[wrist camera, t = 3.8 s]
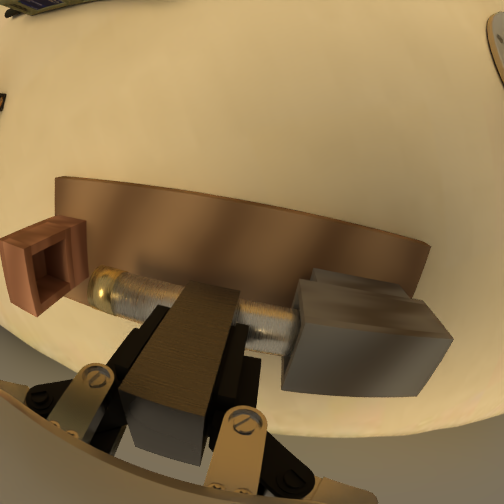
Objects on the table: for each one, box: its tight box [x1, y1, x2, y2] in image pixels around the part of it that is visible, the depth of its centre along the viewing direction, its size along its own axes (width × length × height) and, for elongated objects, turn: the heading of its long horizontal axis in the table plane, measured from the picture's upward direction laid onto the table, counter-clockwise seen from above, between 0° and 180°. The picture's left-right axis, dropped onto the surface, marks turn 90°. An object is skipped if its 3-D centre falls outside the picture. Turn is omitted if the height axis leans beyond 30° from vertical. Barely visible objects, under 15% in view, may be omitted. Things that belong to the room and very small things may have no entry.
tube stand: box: [0, 176, 454, 397], centre depth 14 cm, size 26×10×7 cm, turn 80°
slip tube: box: [87, 265, 442, 466], centre depth 10 cm, size 20×4×8 cm, turn 80°
